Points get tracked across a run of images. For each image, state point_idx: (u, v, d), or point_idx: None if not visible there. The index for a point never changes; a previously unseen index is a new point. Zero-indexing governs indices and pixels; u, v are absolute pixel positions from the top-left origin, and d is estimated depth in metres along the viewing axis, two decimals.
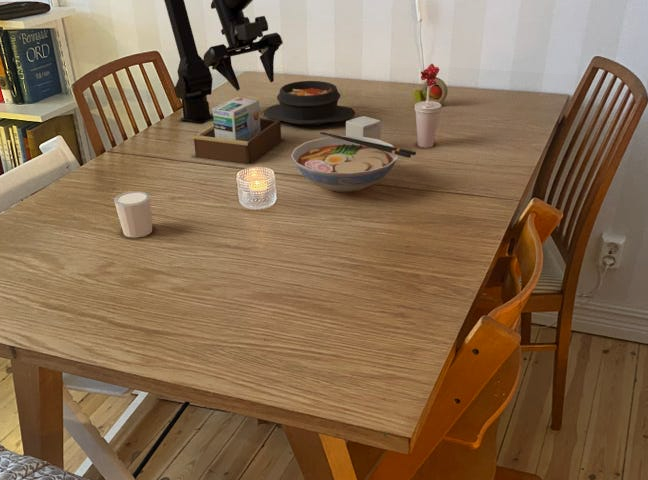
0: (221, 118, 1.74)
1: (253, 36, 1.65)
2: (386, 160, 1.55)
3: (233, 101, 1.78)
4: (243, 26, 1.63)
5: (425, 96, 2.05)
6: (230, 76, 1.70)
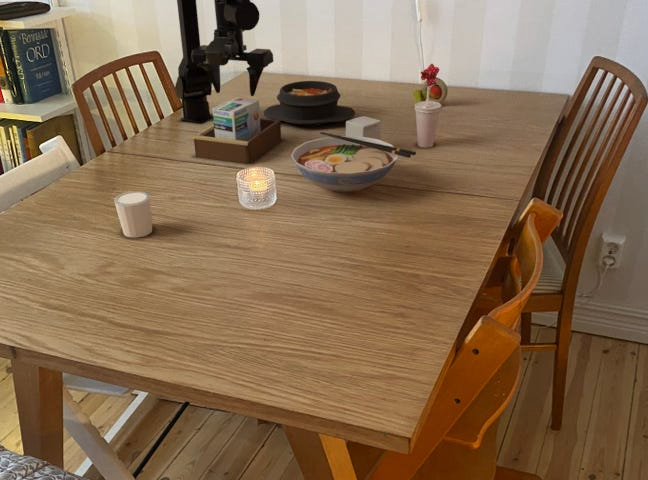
0: (221, 118, 1.74)
1: (213, 63, 1.64)
2: (386, 160, 1.55)
3: (233, 101, 1.78)
4: (205, 51, 1.63)
5: (425, 96, 2.05)
6: None
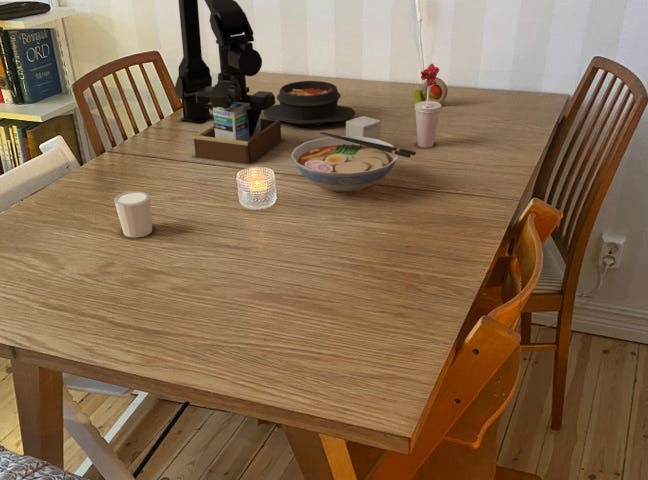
0: (221, 118, 1.74)
1: (217, 106, 1.70)
2: (386, 160, 1.55)
3: None
4: (209, 95, 1.68)
5: (425, 96, 2.05)
6: None
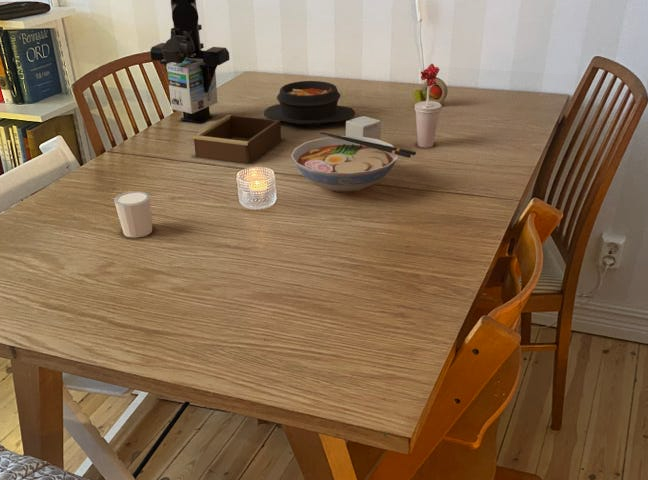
0: (175, 74, 1.72)
1: (170, 61, 1.68)
2: (386, 160, 1.55)
3: (188, 58, 1.76)
4: (161, 50, 1.67)
5: (425, 96, 2.05)
6: None
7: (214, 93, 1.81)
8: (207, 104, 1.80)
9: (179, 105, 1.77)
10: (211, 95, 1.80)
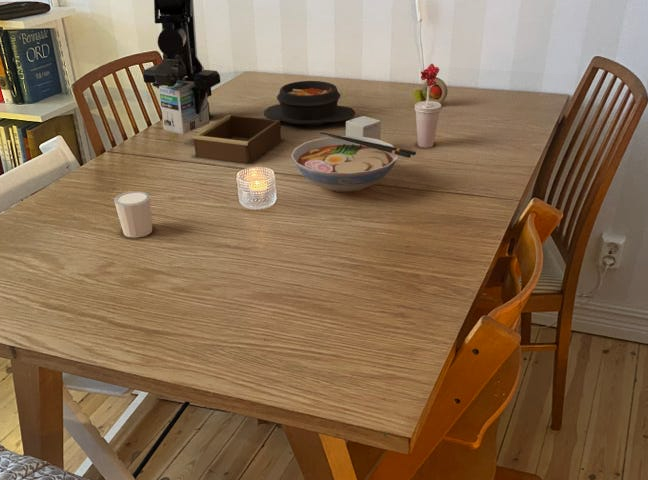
0: (167, 96, 1.77)
1: (162, 84, 1.73)
2: (386, 160, 1.55)
3: None
4: (153, 73, 1.71)
5: (425, 96, 2.05)
6: None
7: (206, 114, 1.85)
8: (199, 125, 1.84)
9: (171, 126, 1.81)
10: (202, 116, 1.84)
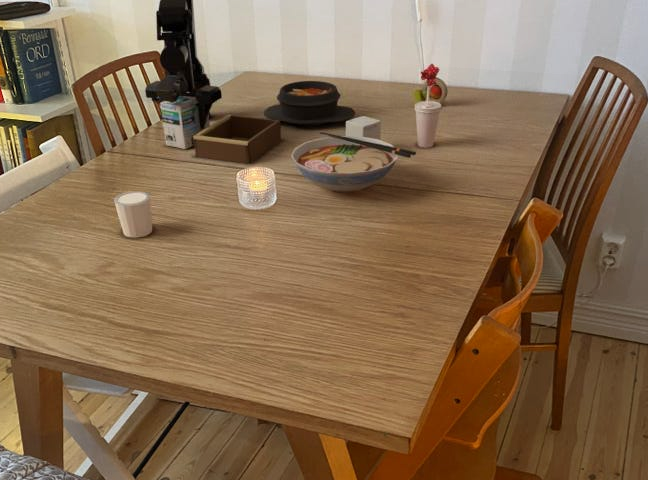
0: (168, 112, 1.79)
1: (164, 100, 1.75)
2: (386, 160, 1.55)
3: (181, 96, 1.83)
4: (155, 89, 1.74)
5: (425, 96, 2.05)
6: None
7: None
8: None
9: (173, 141, 1.83)
10: None
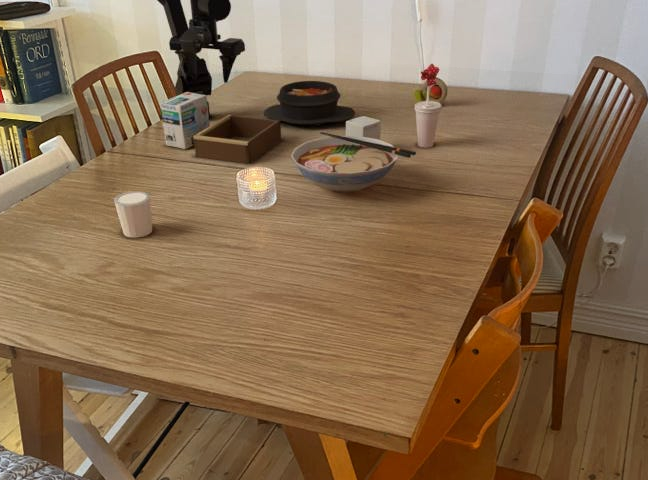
0: (168, 112, 1.79)
1: (187, 51, 1.75)
2: (386, 160, 1.55)
3: (181, 95, 1.83)
4: (179, 40, 1.74)
5: (425, 96, 2.05)
6: None
7: None
8: None
9: (173, 141, 1.83)
10: None
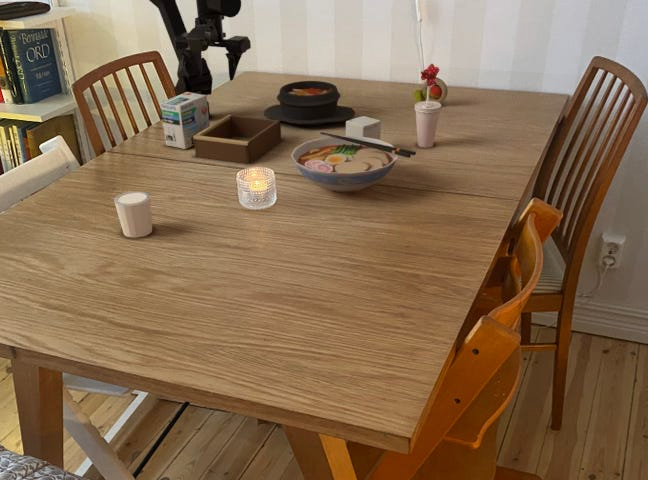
0: (168, 112, 1.79)
1: (194, 49, 1.76)
2: (386, 160, 1.55)
3: (181, 95, 1.83)
4: (186, 38, 1.75)
5: (425, 96, 2.05)
6: None
7: None
8: None
9: (173, 141, 1.83)
10: None
